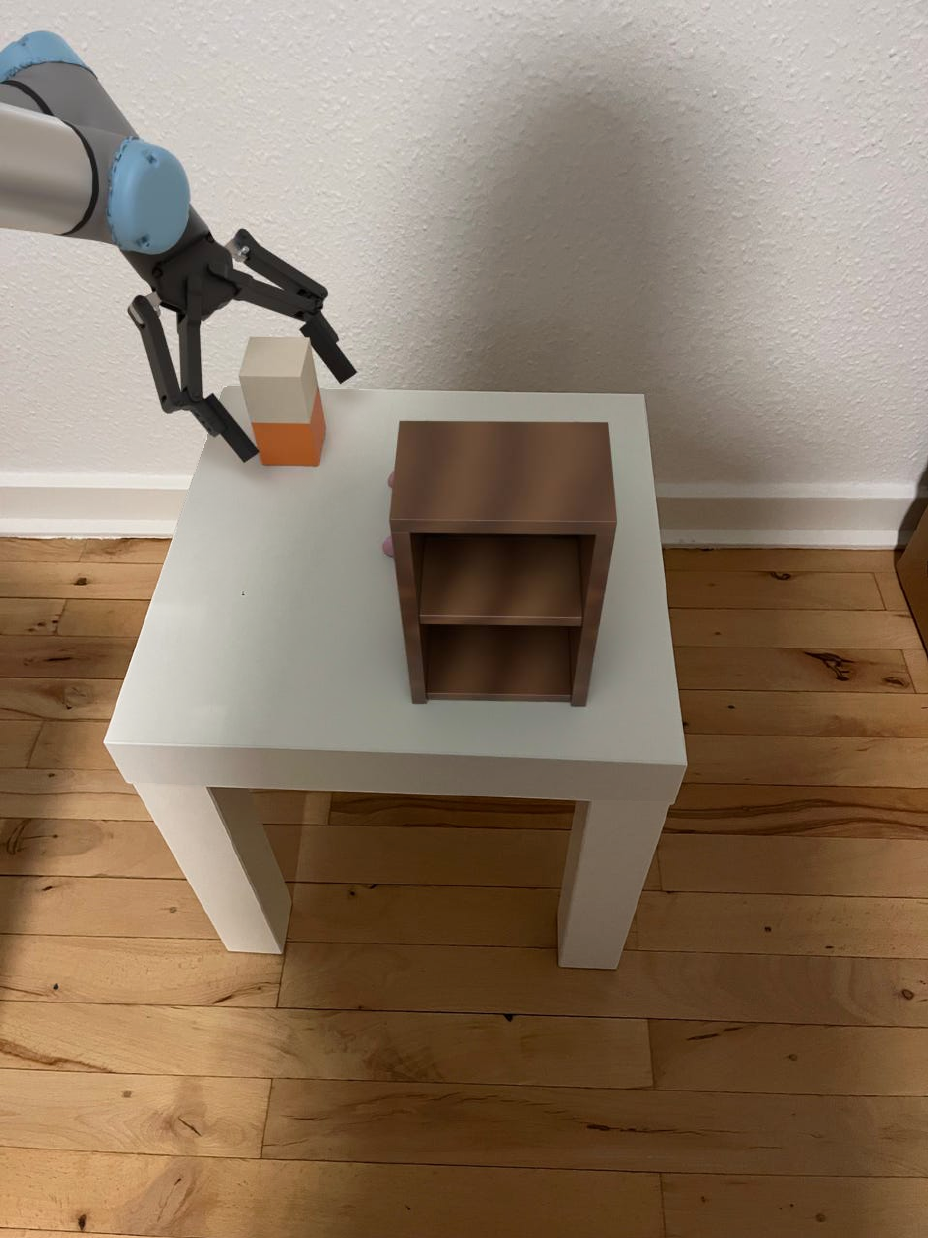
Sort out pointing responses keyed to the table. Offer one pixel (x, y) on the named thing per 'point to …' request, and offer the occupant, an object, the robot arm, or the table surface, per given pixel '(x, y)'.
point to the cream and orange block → (283, 400)
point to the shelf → (502, 556)
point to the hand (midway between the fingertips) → (302, 416)
